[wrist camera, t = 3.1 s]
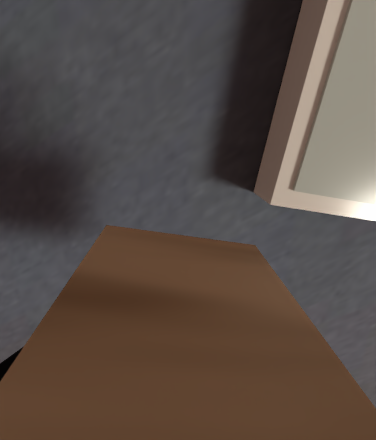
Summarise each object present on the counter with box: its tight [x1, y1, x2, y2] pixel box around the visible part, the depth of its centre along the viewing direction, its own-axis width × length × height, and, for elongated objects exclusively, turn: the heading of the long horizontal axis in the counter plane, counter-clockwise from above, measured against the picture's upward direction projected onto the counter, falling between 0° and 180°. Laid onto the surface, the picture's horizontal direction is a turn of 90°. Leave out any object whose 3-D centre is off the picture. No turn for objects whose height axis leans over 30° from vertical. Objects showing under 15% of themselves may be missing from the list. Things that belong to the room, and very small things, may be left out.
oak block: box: [0, 225, 376, 440], centre depth 6 cm, size 4×4×6 cm
